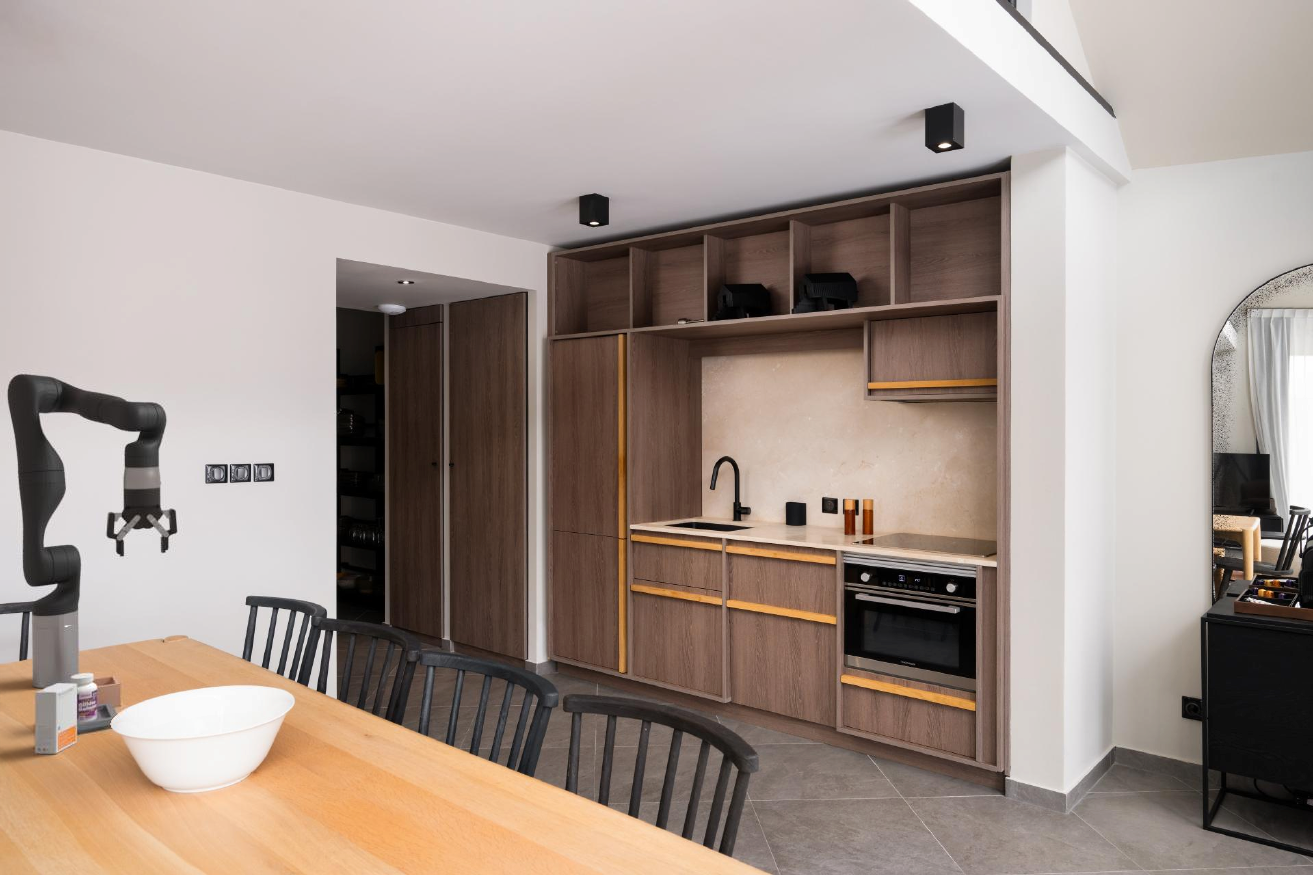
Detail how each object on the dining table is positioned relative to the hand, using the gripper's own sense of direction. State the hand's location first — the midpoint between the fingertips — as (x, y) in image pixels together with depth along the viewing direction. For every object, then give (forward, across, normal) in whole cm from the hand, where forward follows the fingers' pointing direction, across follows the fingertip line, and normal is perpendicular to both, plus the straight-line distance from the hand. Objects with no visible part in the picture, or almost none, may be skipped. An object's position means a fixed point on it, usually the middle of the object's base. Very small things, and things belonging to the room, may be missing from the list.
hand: (142, 554), depth 203 cm
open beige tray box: (+32, +10, +7) cm, 34 cm away
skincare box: (+32, +19, +32) cm, 49 cm away
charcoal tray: (+32, +14, +20) cm, 40 cm away
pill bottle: (+32, +14, +20) cm, 40 cm away
